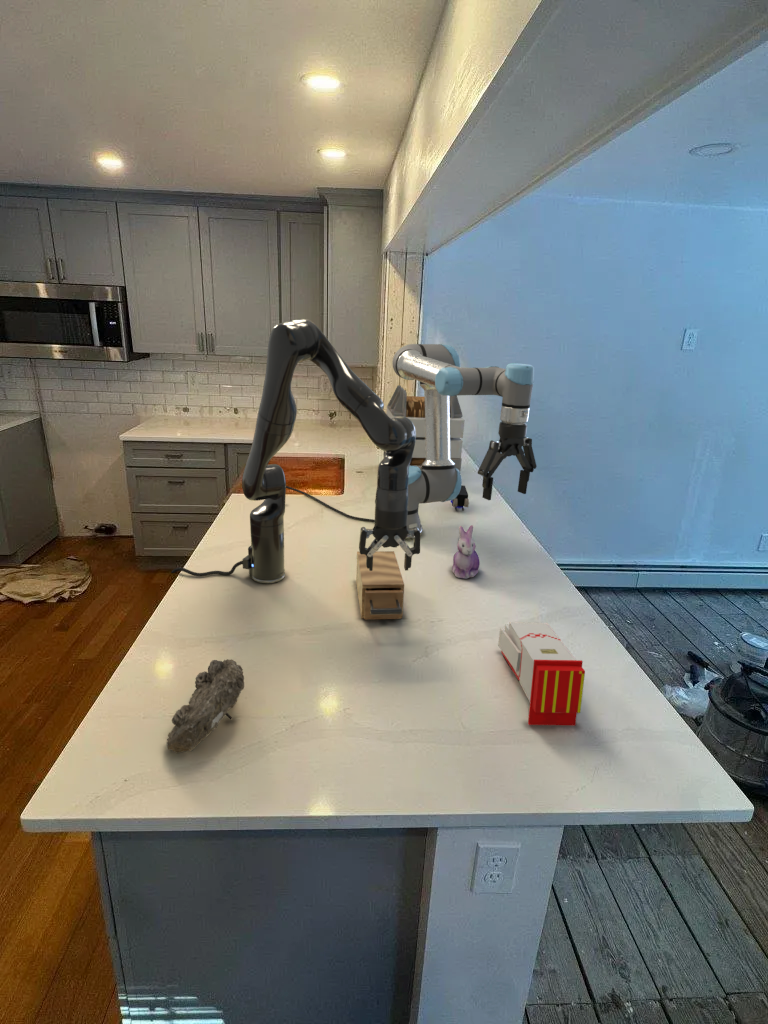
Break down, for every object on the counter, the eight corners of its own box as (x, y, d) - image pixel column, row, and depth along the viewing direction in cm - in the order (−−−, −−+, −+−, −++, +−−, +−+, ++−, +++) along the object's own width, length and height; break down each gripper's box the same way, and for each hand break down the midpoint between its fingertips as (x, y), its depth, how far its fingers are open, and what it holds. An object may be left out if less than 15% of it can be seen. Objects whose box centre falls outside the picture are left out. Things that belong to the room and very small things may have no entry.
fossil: (192, 660, 117) (244, 628, 112) (224, 691, 120) (276, 661, 115) (142, 746, 98) (202, 712, 93) (182, 779, 101) (242, 748, 96)
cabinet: (402, 617, 146) (404, 584, 143) (361, 618, 145) (362, 584, 141) (392, 581, 165) (394, 551, 162) (356, 581, 164) (357, 551, 160)
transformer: (382, 463, 289) (386, 382, 275) (445, 464, 293) (451, 384, 279) (390, 482, 257) (394, 392, 243) (460, 483, 261) (468, 394, 247)
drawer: (404, 631, 138) (406, 603, 135) (366, 632, 137) (367, 604, 134) (392, 584, 161) (393, 559, 159) (359, 584, 160) (359, 560, 157)
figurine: (462, 582, 166) (466, 535, 161) (443, 568, 174) (447, 522, 169) (488, 576, 170) (493, 530, 165) (468, 563, 179) (472, 518, 173)
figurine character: (468, 516, 224) (463, 500, 237) (471, 498, 221) (465, 483, 234) (452, 515, 224) (447, 499, 237) (453, 498, 220) (449, 482, 234)
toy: (544, 607, 134) (594, 667, 105) (539, 659, 137) (586, 732, 108) (493, 606, 134) (529, 666, 105) (489, 658, 137) (523, 731, 107)
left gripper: (361, 510, 125) (359, 576, 131) (425, 510, 127) (420, 576, 132) (359, 499, 132) (357, 563, 138) (419, 500, 134) (415, 562, 139)
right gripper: (488, 428, 146) (479, 505, 153) (555, 421, 159) (545, 493, 166) (469, 422, 152) (462, 497, 159) (536, 416, 164) (526, 486, 172)
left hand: (388, 569), depth 135 cm, fingers open, 8 cm apart
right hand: (504, 495), depth 163 cm, fingers open, 13 cm apart
